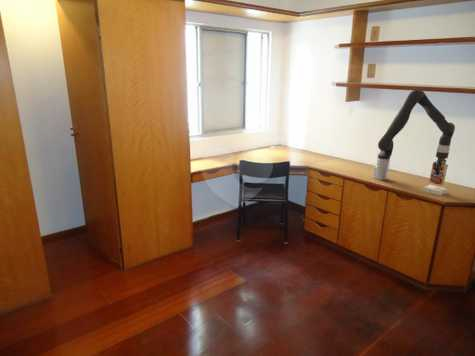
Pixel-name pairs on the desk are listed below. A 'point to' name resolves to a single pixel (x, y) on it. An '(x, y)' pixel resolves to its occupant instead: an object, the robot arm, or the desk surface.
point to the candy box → (438, 178)
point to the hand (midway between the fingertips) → (438, 174)
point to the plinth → (434, 190)
